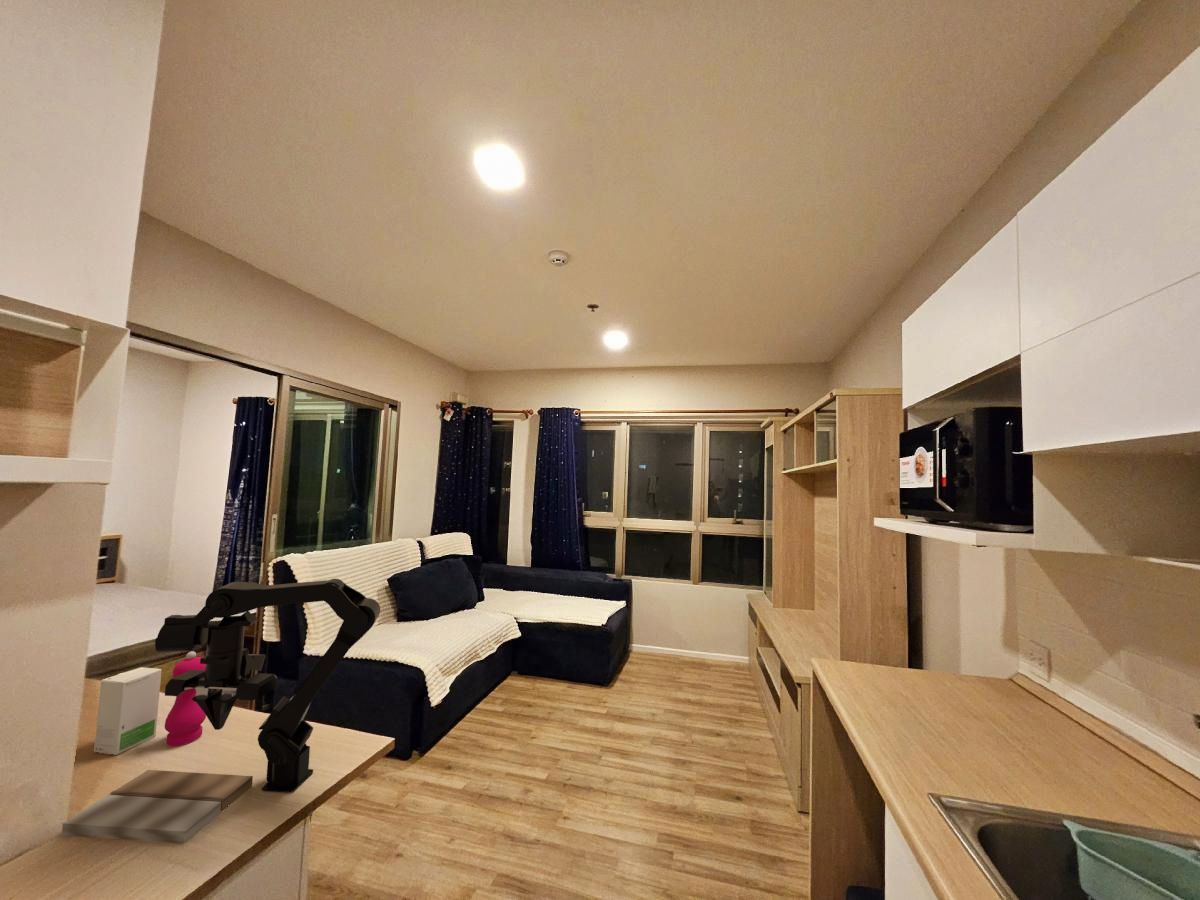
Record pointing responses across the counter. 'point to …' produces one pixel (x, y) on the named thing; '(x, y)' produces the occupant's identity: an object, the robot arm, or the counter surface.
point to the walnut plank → (187, 786)
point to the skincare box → (127, 710)
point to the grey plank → (142, 819)
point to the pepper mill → (185, 708)
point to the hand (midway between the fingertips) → (219, 728)
